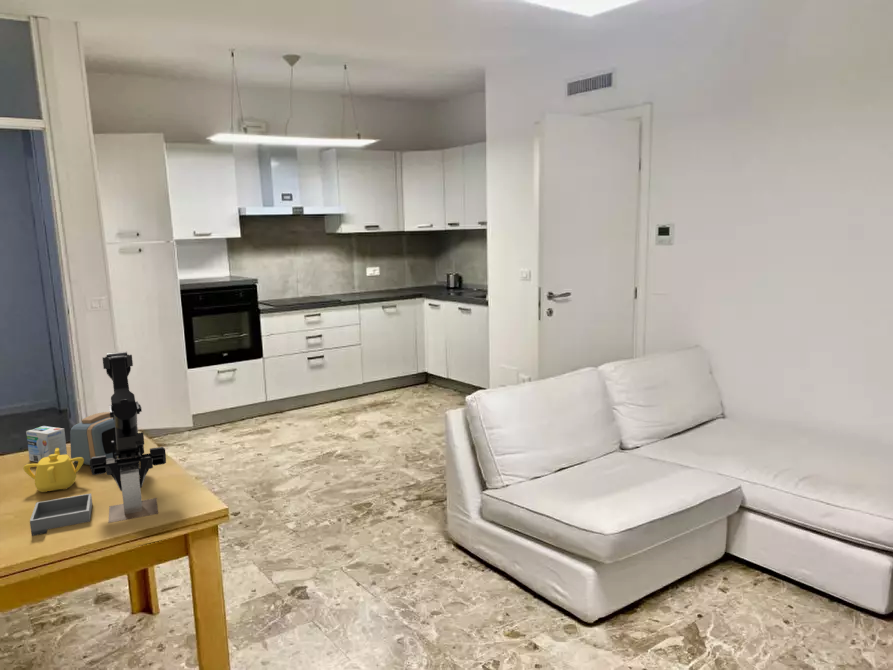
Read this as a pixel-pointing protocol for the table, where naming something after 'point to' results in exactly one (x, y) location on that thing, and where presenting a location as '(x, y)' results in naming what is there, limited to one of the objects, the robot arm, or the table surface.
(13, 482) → the table surface
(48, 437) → the light bulb box
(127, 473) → the strut
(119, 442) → the robot arm
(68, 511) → the bin
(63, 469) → the teapot
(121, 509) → the stud base
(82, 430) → the grey toaster
